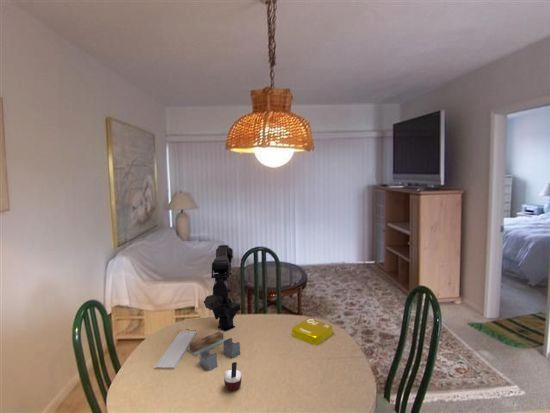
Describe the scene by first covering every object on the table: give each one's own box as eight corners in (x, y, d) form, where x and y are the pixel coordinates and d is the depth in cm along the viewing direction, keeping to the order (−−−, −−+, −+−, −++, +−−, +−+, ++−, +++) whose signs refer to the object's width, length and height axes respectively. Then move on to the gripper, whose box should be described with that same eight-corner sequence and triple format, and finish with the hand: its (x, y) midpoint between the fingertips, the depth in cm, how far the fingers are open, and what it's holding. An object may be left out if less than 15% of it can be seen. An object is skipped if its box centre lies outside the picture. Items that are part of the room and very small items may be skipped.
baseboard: (150, 370, 135) (174, 370, 135) (149, 363, 135) (174, 364, 134) (176, 334, 165) (196, 334, 165) (176, 328, 165) (196, 329, 164)
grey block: (231, 350, 149) (230, 337, 148) (240, 354, 145) (239, 342, 144) (224, 353, 146) (223, 341, 145) (232, 358, 142) (232, 346, 141)
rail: (219, 337, 159) (219, 330, 159) (223, 339, 157) (223, 332, 157) (189, 350, 148) (189, 343, 148) (193, 352, 146) (193, 346, 146)
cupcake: (227, 380, 127) (225, 349, 127) (244, 380, 127) (242, 349, 126) (221, 396, 118) (219, 363, 117) (239, 396, 117) (237, 362, 117)
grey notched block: (208, 361, 140) (208, 348, 140) (217, 366, 136) (216, 353, 135) (200, 365, 137) (199, 352, 137) (208, 371, 133) (208, 357, 133)
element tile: (290, 336, 161) (290, 327, 160) (308, 325, 172) (308, 316, 171) (316, 346, 151) (316, 336, 150) (334, 334, 162) (334, 324, 161)
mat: (218, 336, 161) (218, 335, 161) (227, 341, 156) (227, 340, 156) (186, 350, 149) (186, 349, 149) (195, 356, 144) (195, 354, 144)
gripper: (194, 287, 149) (195, 321, 150) (219, 298, 136) (221, 335, 137) (214, 281, 157) (216, 314, 158) (240, 290, 144) (242, 326, 145)
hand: (223, 321), depth 150 cm, fingers open, 9 cm apart
